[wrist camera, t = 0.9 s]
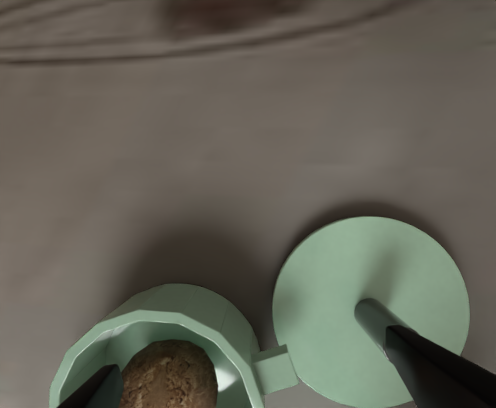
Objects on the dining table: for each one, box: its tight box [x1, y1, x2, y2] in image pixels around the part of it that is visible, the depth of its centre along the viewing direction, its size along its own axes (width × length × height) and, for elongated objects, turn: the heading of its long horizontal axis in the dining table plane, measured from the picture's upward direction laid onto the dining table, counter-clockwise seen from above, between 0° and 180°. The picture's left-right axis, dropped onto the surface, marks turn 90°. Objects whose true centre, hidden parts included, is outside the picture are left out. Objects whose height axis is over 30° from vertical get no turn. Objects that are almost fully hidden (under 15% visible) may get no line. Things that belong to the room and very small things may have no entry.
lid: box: [272, 216, 470, 408], centre depth 17 cm, size 16×16×6 cm
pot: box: [49, 284, 299, 408], centre depth 18 cm, size 15×21×5 cm
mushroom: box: [119, 339, 218, 408], centre depth 18 cm, size 8×8×6 cm
